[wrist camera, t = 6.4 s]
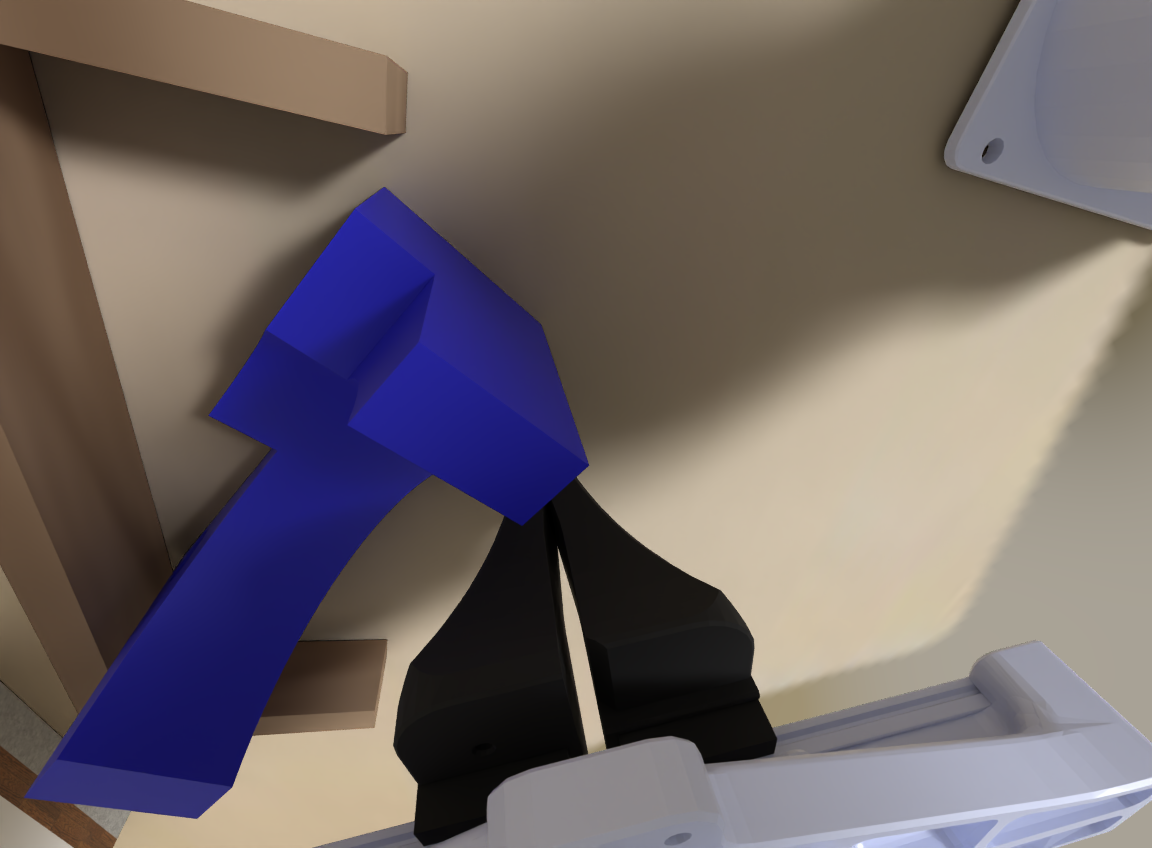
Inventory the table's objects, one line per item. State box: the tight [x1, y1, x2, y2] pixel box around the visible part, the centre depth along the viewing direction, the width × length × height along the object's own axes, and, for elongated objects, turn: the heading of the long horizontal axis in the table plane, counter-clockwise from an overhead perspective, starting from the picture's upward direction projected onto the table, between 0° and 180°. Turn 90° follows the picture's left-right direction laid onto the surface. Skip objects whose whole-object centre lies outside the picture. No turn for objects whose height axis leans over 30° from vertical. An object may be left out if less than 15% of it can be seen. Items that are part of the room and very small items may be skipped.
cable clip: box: [24, 187, 589, 819], centre depth 10 cm, size 12×4×6 cm, turn 135°
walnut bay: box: [0, 0, 408, 736], centre depth 11 cm, size 7×18×3 cm, turn 168°
